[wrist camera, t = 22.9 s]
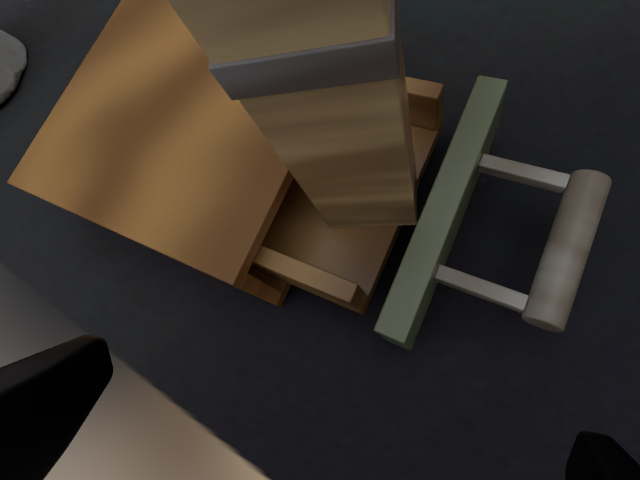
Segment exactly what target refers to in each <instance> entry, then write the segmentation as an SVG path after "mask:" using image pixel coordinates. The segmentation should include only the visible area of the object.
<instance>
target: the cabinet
mask: <svg viewBox="0 0 640 480" xmlns="http://www.w3.org/2000/svg"><path fill="white" fill-rule="evenodd" d="M209 61H210V60H209V58H208V57H207V55H206V54H205V53H204V51H203V50H202V48H201V47H200V46H199V44H198V43H197V41H196V40H195V39H194V37H193V36H192V34H191V33H190V32H189V30H188V29H187V27H186V26H185V25H184V23H183V22H182V20H181V19H180V18H179V16H178V15H177V13H176V12H175V11H174V9H173V8H172V7H171V5H170V4H169V2H168V1H167V0H121V2H120V4H119V5H118V7H117V8H116V10H115V11H114V13H113V15H112V16H111V18H110V19H109V21H108V23H107V24H106V26H105V27H104V29H103V31H102V32H101V34H100V35H99V37H98V38H97V40H96V42H95V43H94V45H93V46H92V48H91V50H90V51H89V53H88V54H87V56H86V58H85V59H84V61H83V62H82V64H81V65H80V67H79V69H78V70H77V72H76V73H75V75H74V77H73V78H72V80H71V81H70V83H69V85H68V86H67V88H66V89H65V91H64V92H63V94H62V96H61V97H60V99H59V100H58V102H57V104H56V105H55V107H54V108H53V110H52V112H51V113H50V115H49V116H48V118H47V120H46V121H45V123H44V124H43V126H42V127H41V129H40V131H39V132H38V134H37V135H36V137H35V139H34V140H33V142H32V143H31V145H30V147H29V148H28V150H27V151H26V153H25V154H24V156H23V158H22V159H21V161H20V162H19V164H18V166H17V167H16V169H15V170H14V172H13V174H12V175H11V177H10V178H9V180H8V181H7V183H9V184H11V185H13V186H15V187H17V188H19V189H22V190H24V191H26V192H28V193H30V194H32V195H35V196H37V197H39V198H41V199H43V200H46V201H48V202H50V203H52V204H54V205H56V206H59V207H61V208H63V209H65V210H67V211H69V212H72V213H74V214H76V215H78V216H80V217H83V218H85V219H87V220H89V221H91V222H93V223H96V224H98V225H100V226H102V227H104V228H107V229H109V230H111V231H113V232H115V233H118V234H120V235H122V236H124V237H126V238H129V239H131V240H133V241H135V242H137V243H140V244H142V245H144V246H146V247H148V248H151V249H153V250H155V251H157V252H159V253H162V254H164V255H166V256H168V257H170V258H173V259H175V260H177V261H179V262H181V263H184V264H186V265H188V266H190V267H192V268H195V269H197V270H199V271H201V272H203V273H206V274H208V275H210V276H212V277H214V278H216V279H219V280H221V281H223V282H225V283H227V284H230V285H232V286H234V287H236V288H238V289H241V290H243V291H245V292H247V293H249V294H252V295H254V296H256V297H258V298H260V299H263V300H265V301H267V302H269V303H271V304H274V305H276V306H278V307H281V306H282V304H283V302H284V300H285V297H286V295H287V293H288V291H289V289H290V287H291V284H289V283H287V282H284V281H282V280H280V279H277V278H275V277H273V276H270V275H268V274H266V273H263V272H261V271H259V270H256V269H254V268H252V267H250V266H251V264H252V262H253V260H254V258H255V256H256V254H257V252H258V250H259V248H260V246H261V244H262V242H263V240H264V237H265V235H266V233H267V231H268V229H269V227H270V225H271V223H272V221H273V219H274V217H275V215H276V213H277V211H278V209H279V207H280V204H281V202H282V200H283V198H284V196H285V194H286V192H287V190H288V188H289V186H290V184H291V182H292V180H293V178H294V177H293V175H292V174H291V173H290V171H289V170H288V168H287V167H286V166H285V164H284V163H283V161H282V160H281V159H280V157H279V156H278V154H277V153H276V152H275V150H274V149H273V147H272V146H271V145H270V143H269V142H268V140H267V139H266V138H265V136H264V135H263V134H262V132H261V131H260V129H259V128H258V127H257V125H256V124H255V122H254V121H253V120H252V118H251V117H250V115H249V114H248V113H247V111H246V110H245V108H244V107H243V106H242V104H241V103H240V101H239V100H231V99H230V98H229V96H228V95H227V93H226V92H225V91H224V89H223V88H222V87H221V85H220V84H219V83H218V81H217V80H216V79H215V77H214V76H213V75H212V73H211V72H210V71H209V68H208V67H209Z"/></svg>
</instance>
